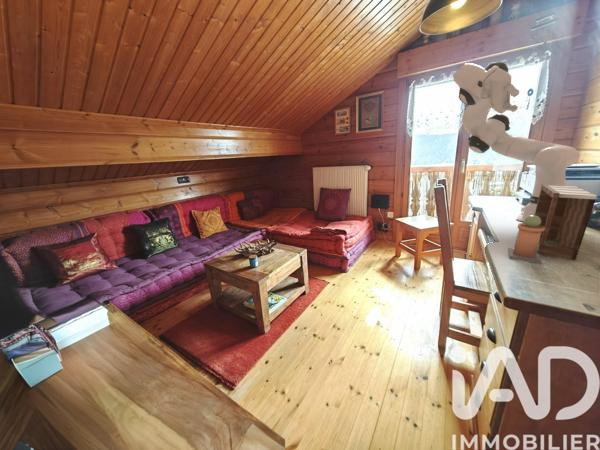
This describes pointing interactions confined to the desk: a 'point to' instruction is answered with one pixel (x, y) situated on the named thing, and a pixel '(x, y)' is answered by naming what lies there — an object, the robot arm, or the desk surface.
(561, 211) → the slatted wooden crate
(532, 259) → the slate tile
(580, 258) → the desk surface
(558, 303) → the desk surface
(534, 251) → the terracotta pot
